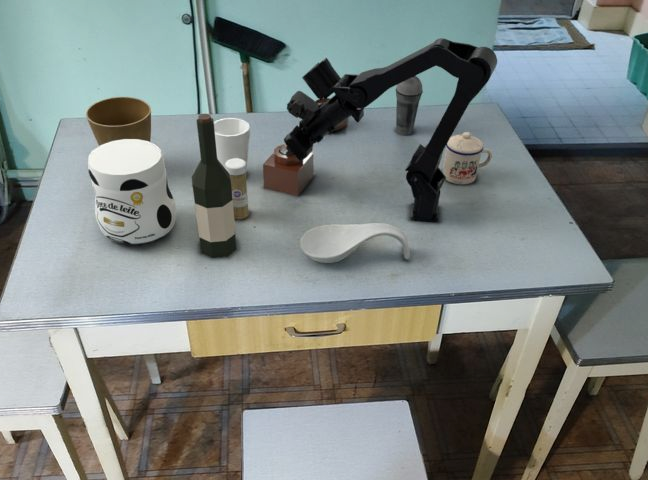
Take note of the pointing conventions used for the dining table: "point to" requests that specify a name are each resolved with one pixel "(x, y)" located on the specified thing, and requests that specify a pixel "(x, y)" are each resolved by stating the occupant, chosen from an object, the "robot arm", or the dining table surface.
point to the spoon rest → (346, 240)
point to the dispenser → (287, 172)
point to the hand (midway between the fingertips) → (287, 148)
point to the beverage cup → (407, 104)
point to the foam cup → (231, 139)
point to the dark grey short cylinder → (286, 152)
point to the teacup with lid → (463, 158)
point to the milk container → (131, 191)
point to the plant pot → (120, 119)
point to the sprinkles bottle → (238, 187)
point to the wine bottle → (213, 196)
